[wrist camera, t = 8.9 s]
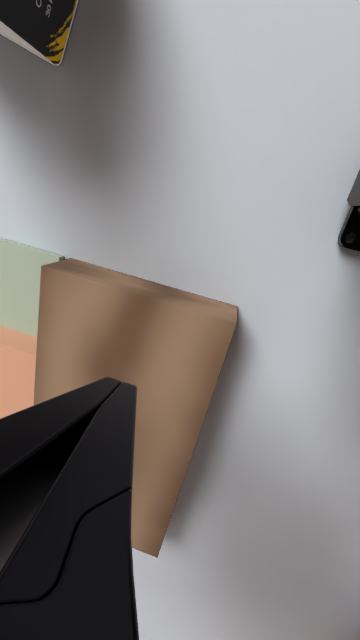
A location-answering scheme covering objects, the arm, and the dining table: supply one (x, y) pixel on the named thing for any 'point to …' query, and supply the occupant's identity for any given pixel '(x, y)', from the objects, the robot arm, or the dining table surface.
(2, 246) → the mat
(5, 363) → the coaster
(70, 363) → the board
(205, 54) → the dining table surface
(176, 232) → the dining table surface
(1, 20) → the medicine bottle
